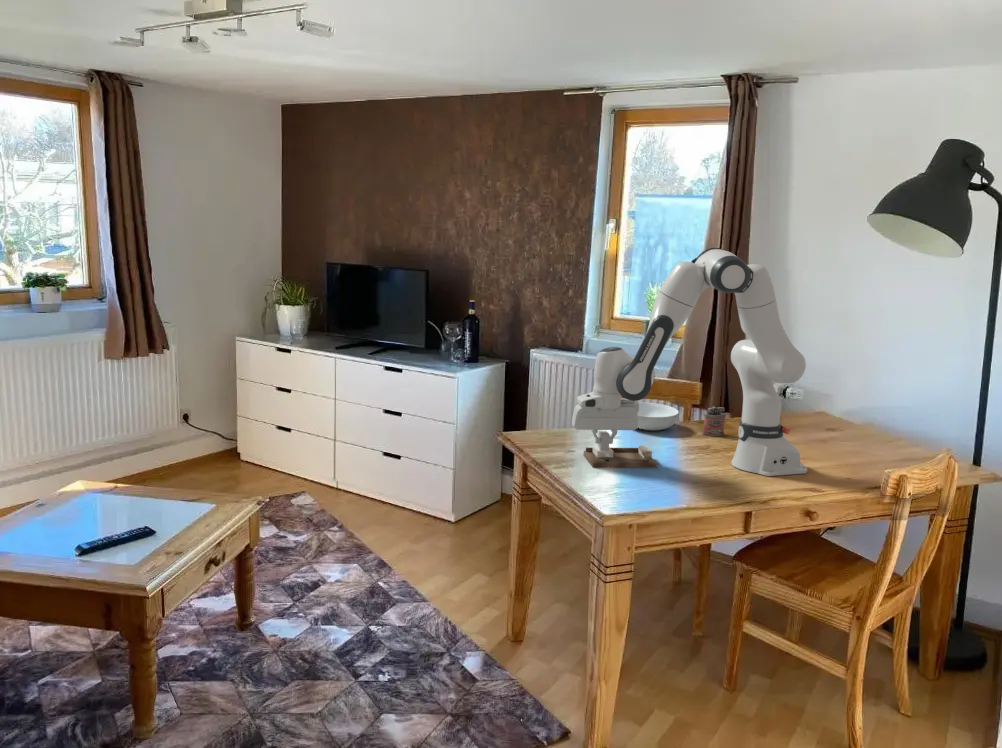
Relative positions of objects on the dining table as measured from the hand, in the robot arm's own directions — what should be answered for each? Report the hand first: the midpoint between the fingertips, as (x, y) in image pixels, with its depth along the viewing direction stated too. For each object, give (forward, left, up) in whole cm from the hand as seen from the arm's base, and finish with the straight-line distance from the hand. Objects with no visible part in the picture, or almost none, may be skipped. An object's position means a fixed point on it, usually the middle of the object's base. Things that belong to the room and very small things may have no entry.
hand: (603, 443), depth 248 cm
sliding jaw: (0, +2, -4) cm, 4 cm away
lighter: (-48, -29, -6) cm, 57 cm away
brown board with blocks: (-5, +2, -5) cm, 8 cm away
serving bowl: (-27, -38, -6) cm, 47 cm away
